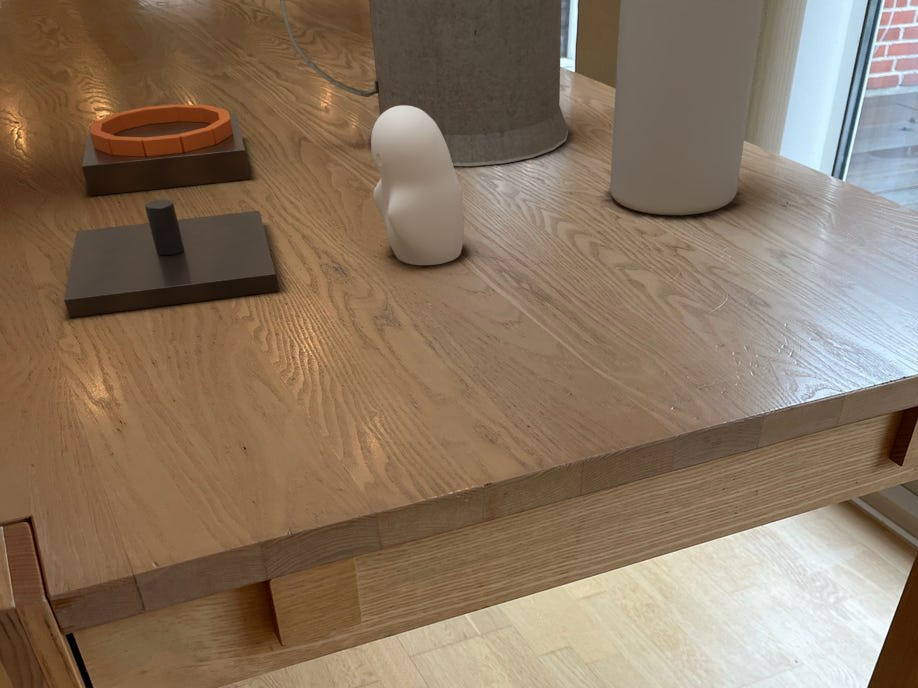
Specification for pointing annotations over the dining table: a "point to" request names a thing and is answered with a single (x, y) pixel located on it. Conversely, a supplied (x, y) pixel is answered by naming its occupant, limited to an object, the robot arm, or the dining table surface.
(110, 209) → the dining table surface
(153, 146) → the ring
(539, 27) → the pitcher
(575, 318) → the dining table surface
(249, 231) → the peg stand
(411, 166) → the figurine
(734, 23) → the cylinder vase
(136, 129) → the stand
